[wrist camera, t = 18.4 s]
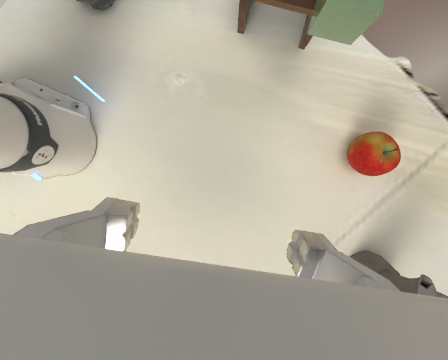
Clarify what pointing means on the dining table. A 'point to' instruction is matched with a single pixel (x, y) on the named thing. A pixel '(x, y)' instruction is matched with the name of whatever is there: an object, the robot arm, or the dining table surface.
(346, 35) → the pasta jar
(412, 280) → the coffeepot
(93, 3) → the mortar and pestle
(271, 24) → the dining table surface
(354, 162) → the apple
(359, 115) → the dining table surface
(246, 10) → the rack
